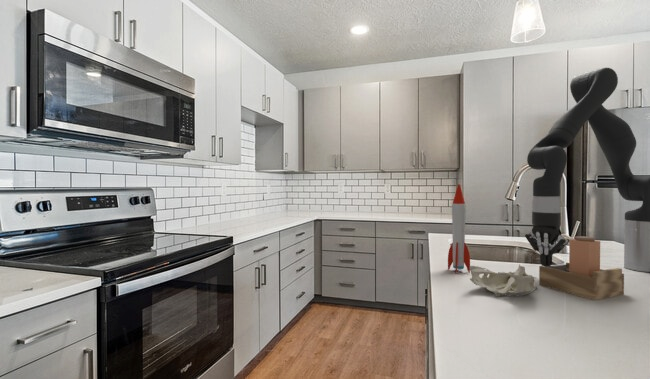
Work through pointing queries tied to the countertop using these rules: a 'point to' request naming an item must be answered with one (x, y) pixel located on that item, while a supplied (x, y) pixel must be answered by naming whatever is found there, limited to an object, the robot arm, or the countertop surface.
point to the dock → (584, 282)
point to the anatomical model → (504, 281)
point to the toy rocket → (458, 234)
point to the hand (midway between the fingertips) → (546, 266)
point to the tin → (584, 255)
